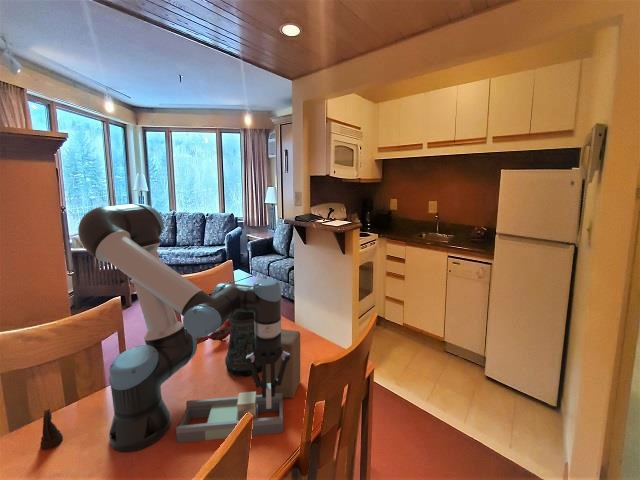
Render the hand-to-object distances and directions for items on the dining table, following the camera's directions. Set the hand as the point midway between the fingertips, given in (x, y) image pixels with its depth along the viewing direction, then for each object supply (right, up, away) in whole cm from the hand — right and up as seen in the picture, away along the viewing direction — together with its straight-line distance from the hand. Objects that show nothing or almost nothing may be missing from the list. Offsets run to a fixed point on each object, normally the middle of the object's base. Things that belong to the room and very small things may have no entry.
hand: (268, 405), depth 92 cm
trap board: (-10, -5, -1) cm, 11 cm away
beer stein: (-14, +1, +29) cm, 32 cm away
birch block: (-6, -2, -1) cm, 7 cm away
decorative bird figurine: (-29, +4, +44) cm, 53 cm away
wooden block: (+3, -2, +15) cm, 15 cm away
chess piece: (-58, -6, -9) cm, 59 cm away
